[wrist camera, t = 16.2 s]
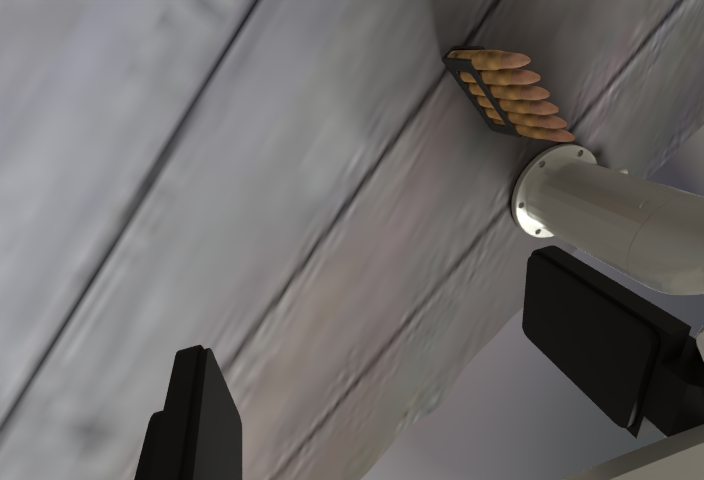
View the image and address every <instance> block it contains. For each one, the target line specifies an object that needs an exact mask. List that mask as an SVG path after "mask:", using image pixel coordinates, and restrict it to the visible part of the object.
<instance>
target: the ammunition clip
mask: <svg viewBox="0 0 704 480" xmlns="http://www.w3.org/2000/svg"><path fill="white" fill-rule="evenodd" d="M442 61H443V63H444V64H445V65H446V67H447V68H448V70H449V71H450V72H451V74H452V75H453V77H454V78H455V79H456V81H457V82H458V83H459V85H460V86H461V88H462V89H463V90H464V92H465V93H466V95H467V96H468V97H469V99H470V100H471V102H472V103H473V104H474V106H475V107H476V109H477V110H478V111H479V113H480V114H481V116H482V117H483V118H484V120H485V121H486V123H487V124H488V125H489V127H490V128H491V130H493V131H496V132H500V133H504V134H508V135H512V136H516V137H521V136H522V135H524V136H528V137H532V138H535V139H546V140H552V141H558V142H570V141H574V140H575V139H576V138H575V137H574V135H572V134H571V133H569V132H567V131H565V130H563V129H560V128H564V127H566V126H567V125H568V124H567V123H566V122H565V121H564V120H563V119H561V118H559V117H557V116H554V115H550V114H554V113H557V112H559V108H558V107H557V106H555V105H553V104H552V103H549V102H546V101H542V100H540V99H545V98H547V97H549V96H550V93H549V92H548V91H547V90H545V89H543V88H541V87H538V86H533V85H528V84H531V83H534V82H537V81H539V80H540V79H541V77H540V76H539V75H538V74H537V73H535V72H533V71H529V70H524V69H517V67H521V66H524V65H526V64H528V63H529V62H530V61H531V59H530V58H529V57H528V56H526V55H524V54H520V53H514V52H503V51H501V50H485V49H484V47H483V46H453V47H452V48H451V50H450V51H449V52H448V53H447V54H446V55H445V56H444V57H443V58H442Z"/></svg>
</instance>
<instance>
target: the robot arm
mask: <svg viewBox="0 0 704 480" xmlns="http://www.w3.org/2000/svg"><path fill="white" fill-rule="evenodd" d="M511 207H512V215H513V218H514V220H515V222H516V224H517V225H518V227H519V228H520V229H522V230H523V231H524V232H526V233H528V234H529V235H531V236H534V237H541V238H544V237H551V236H554V235H555V236H557V237H559V238H561V239H562V240H564V241H566V242H568V243H569V244H571V245H573V246H575V247H577V248H578V249H580V250H582V251H584V252H586V253H587V254H589V255H591V256H593V257H595V258H596V259H598V260H600V261H602V262H603V263H605V264H607V265H609V266H611V267H612V268H614V269H616V270H618V271H619V272H621V273H623V274H625V275H627V276H628V277H631V278H632V279H634V280H636V281H638V282H639V283H641V284H643V285H645V286H647V287H649V288H651V289H653V290H656V291H660V292H663V293H668V294H674V295H691V294H692V295H694V294H704V197H702V196H699V195H695V194H692V193H689V192H685V191H682V190H679V189H675V188H672V187H669V186H665V185H662V184H659V183H655V182H652V181H649V180H645V179H642V178H639V177H635V176H632V175H629V174H628V171H627V170H626V169H625V168H619V169H616V170H612V169H609V168H605V167H602V166H599V165H598V164H597V161H596V159H595V157H594V156H593V154H592V153H591V152H590V151H589V150H587V149H586V148H584V147H581V146H578V145H573V144H560V145H557V146H553V147H551V148H549V149H547V150H545V151H543V152H542V153H541V154H539V155H538V156H536V157H535V158H534V159H533V160H532V161H531V162H530V163H529V164H528V166H527V167H526V168H525V169H524V171H523V172H522V174H521V176H520V177H519V179H518V181H517V183H516V186H515V188H514V192H513V196H512V205H511ZM522 328H523V331H524V333H525V335H526V336H527V337H528V338H529V340H531V342H532V343H534V344H535V345H536V346H537V347H538V348H539V349H540V350H541V351H542V352H543V353H544V354H545V355H546V356H547V357H548V358H549V359H550V360H551V361H552V362H553V363H554V364H555V365H556V366H557V367H558V368H559V369H560V370H561V371H562V372H563V373H564V374H565V375H566V376H567V377H568V378H569V379H571V380H572V382H573V383H574V384H575V385H577V386H578V387H579V388H580V389H581V390H582V391H583V392H584V393H585V394H586V395H587V396H588V397H589V398H590V399H591V400H592V401H593V402H594V403H595V404H596V405H597V406H598V407H599V408H600V409H601V410H602V411H603V412H604V413H605V414H606V415H607V416H608V417H609V418H610V419H611V420H612V421H613V422H614V423H616V424H617V425H618V426H620V427H622V428H626V429H627V430H628V431H629V432H630V433H631V434H632V435H633V436H634V437H635V438H636V439H637V438H640V437H643V436H645V435H647V434H650V433H653V432H654V431H655V429H656V427H657V428H658V429H659V430H660V431H661V432H662V433H664V437H665V439H663V440H660V441H658V442H655V443H653V444H650V445H648V446H645V447H642V448H640V449H637V450H635V451H632V452H629V453H627V454H625V455H622V456H619V457H617V458H614V459H612V460H609V461H607V462H604V463H602V464H599V465H597V466H594V467H592V468H589V469H586V470H584V471H581V472H579V473H576V474H574V475H571V476H569V477H567V478H564V479H561V480H704V325H703V327H702V328H701V329H700V331H699V332H698V334H697V335H696V336H695V338H693V337H691V336H689V332H690V329H691V326H689V325H687V324H685V323H684V322H682V321H681V320H679V319H677V318H676V317H674V316H672V315H671V314H669V313H667V312H666V311H664V310H662V309H661V308H659V307H657V306H655V305H654V304H652V303H650V302H649V301H647V300H645V299H644V298H642V297H640V296H638V295H637V294H635V293H634V292H632V291H630V290H629V289H627V288H625V287H623V286H622V285H620V284H618V283H617V282H615V281H614V280H612V279H610V278H608V277H607V276H605V275H603V274H602V273H600V272H599V271H597V270H595V269H594V268H592V267H590V266H588V265H587V264H585V263H583V262H582V261H580V260H578V259H577V258H575V257H573V256H572V255H570V254H568V253H567V252H565V251H563V250H562V249H560V248H558V247H556V246H548V247H544V248H541V249H537V250H535V251H533V252H532V254H531V257H529V258H528V262H527V274H526V286H525V298H524V310H523V322H522ZM134 480H242V423H241V419H240V415H239V413H238V411H237V408H236V406H235V404H234V401H233V399H232V396H231V394H230V392H229V389H228V387H227V385H226V382H225V380H224V378H223V375H222V373H221V371H220V368H219V366H218V364H217V361H216V359H215V357H214V354H213V352H212V350H211V349H210V348H207V349H204V348H203V347H202V346H201V345H197V346H193V347H190V348H186V349H183V350H179V351H177V353H176V356H175V360H174V365H173V369H172V374H171V378H170V383H169V387H168V392H167V396H166V401H165V405H164V410H163V411H160V412H156V413H154V414H153V415H152V416H151V418H150V421H149V424H148V428H147V432H146V436H145V439H144V443H143V447H142V451H141V455H140V459H139V463H138V467H137V471H136V475H135V479H134Z"/></svg>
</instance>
